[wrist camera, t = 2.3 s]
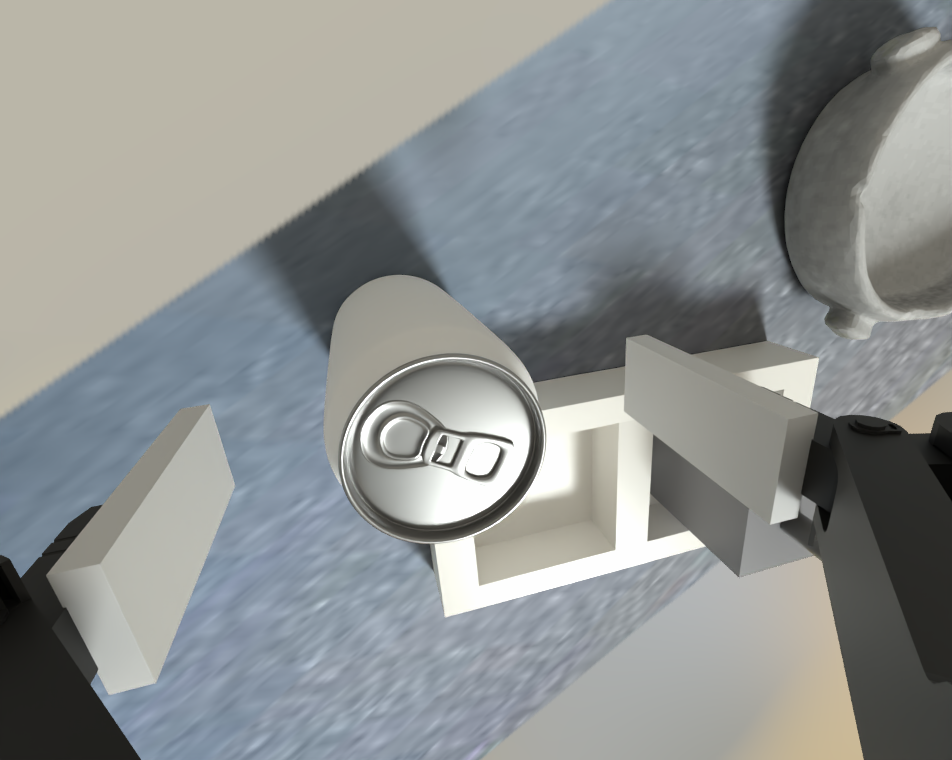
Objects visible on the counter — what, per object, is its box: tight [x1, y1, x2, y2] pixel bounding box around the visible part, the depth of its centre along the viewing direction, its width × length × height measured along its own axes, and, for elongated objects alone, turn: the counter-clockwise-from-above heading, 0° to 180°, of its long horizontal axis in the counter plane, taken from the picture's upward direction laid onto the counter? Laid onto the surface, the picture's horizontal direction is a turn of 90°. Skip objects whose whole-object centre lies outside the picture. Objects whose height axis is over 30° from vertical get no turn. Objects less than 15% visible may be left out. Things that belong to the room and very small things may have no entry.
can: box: [324, 275, 546, 544], centre depth 18 cm, size 6×6×12 cm
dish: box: [785, 27, 952, 340], centre depth 26 cm, size 14×14×5 cm
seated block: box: [650, 434, 822, 577], centre depth 25 cm, size 5×5×11 cm
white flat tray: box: [430, 341, 819, 617], centre depth 28 cm, size 22×11×4 cm, turn 95°
